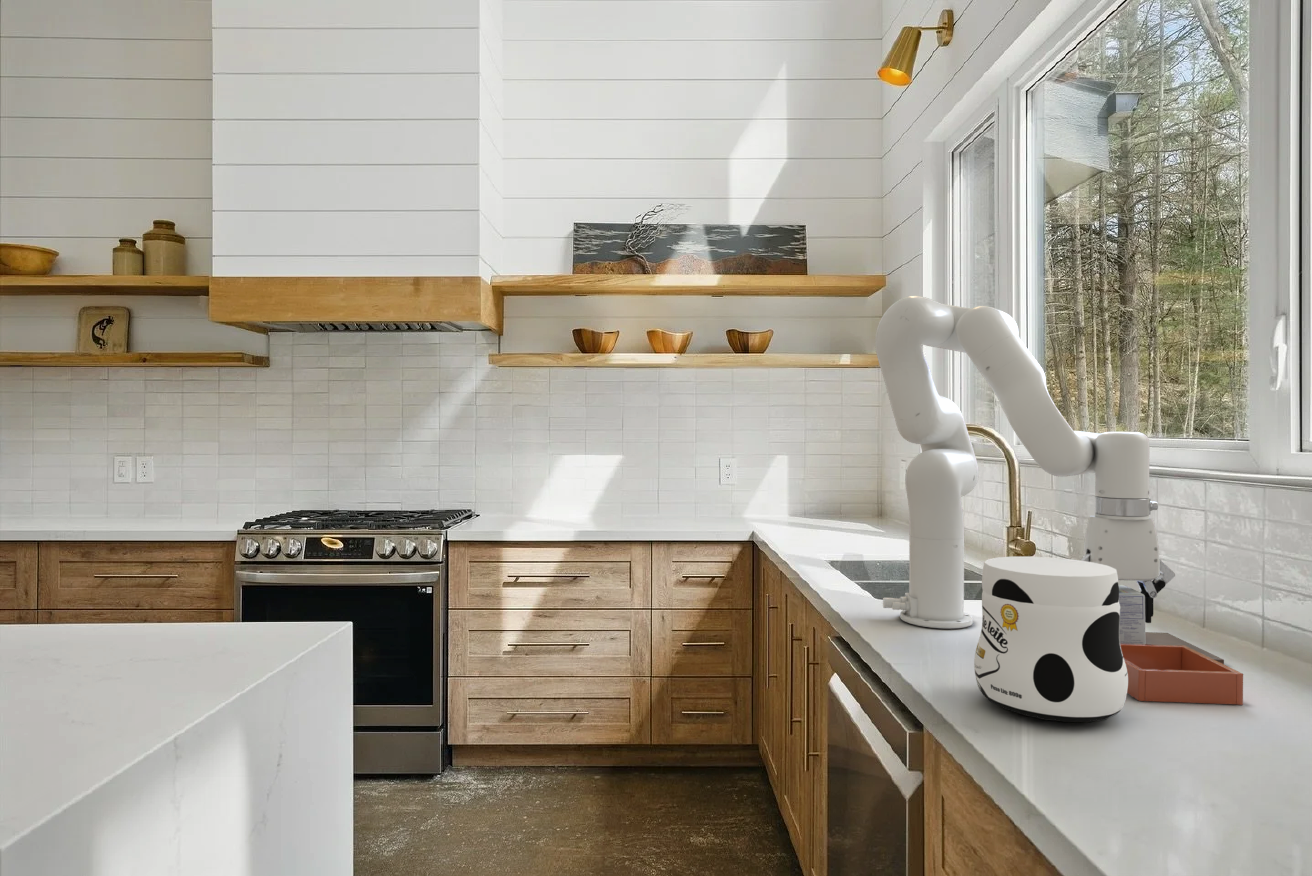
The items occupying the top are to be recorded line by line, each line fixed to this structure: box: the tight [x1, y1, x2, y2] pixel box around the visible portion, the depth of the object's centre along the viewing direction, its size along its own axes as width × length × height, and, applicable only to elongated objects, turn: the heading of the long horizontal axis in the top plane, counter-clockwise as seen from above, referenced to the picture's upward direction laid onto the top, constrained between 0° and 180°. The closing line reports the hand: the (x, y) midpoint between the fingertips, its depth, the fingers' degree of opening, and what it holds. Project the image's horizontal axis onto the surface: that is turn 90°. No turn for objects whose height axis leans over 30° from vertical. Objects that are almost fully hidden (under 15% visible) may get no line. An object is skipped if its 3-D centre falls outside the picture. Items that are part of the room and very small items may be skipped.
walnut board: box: [1145, 631, 1225, 665], centre depth 127 cm, size 22×16×1 cm
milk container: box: [973, 555, 1128, 723], centre depth 100 cm, size 17×17×18 cm
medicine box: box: [1119, 584, 1146, 644], centre depth 127 cm, size 8×4×9 cm, turn 169°
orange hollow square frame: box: [1120, 644, 1244, 706], centre depth 109 cm, size 13×14×4 cm
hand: (1121, 619), depth 127 cm, fingers open, 6 cm apart
